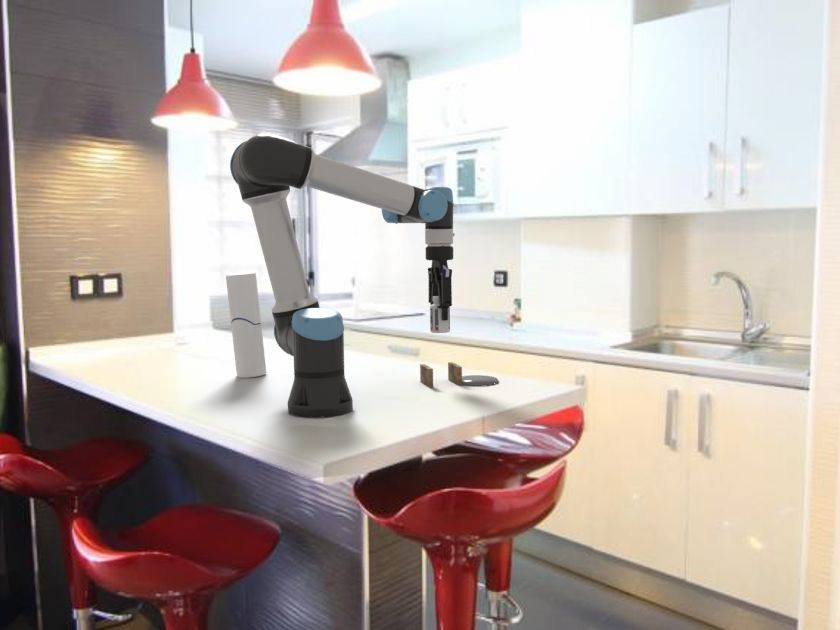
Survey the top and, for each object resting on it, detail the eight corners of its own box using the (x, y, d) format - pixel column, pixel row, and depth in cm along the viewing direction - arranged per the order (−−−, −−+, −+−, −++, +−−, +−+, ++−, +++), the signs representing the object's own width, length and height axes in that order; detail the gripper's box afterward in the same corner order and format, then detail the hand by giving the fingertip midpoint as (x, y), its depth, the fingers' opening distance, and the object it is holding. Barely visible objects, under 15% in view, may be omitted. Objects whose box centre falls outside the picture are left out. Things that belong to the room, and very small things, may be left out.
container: (257, 377, 203) (246, 274, 199) (231, 377, 205) (220, 276, 202) (271, 371, 211) (261, 271, 208) (246, 371, 213) (235, 273, 210)
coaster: (504, 384, 190) (504, 382, 190) (463, 387, 187) (463, 385, 187) (488, 376, 202) (488, 374, 202) (448, 379, 198) (448, 377, 198)
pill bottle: (453, 331, 191) (453, 296, 190) (442, 333, 187) (442, 297, 186) (437, 330, 195) (437, 295, 194) (426, 332, 190) (426, 296, 189)
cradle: (462, 385, 190) (461, 366, 189) (428, 387, 187) (428, 369, 187) (452, 379, 198) (452, 362, 197) (420, 381, 195) (420, 364, 194)
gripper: (464, 245, 181) (464, 334, 183) (441, 245, 198) (442, 326, 201) (436, 245, 178) (437, 335, 181) (416, 245, 196) (417, 327, 198)
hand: (440, 330), depth 191 cm, fingers closed on pill bottle, 5 cm apart
